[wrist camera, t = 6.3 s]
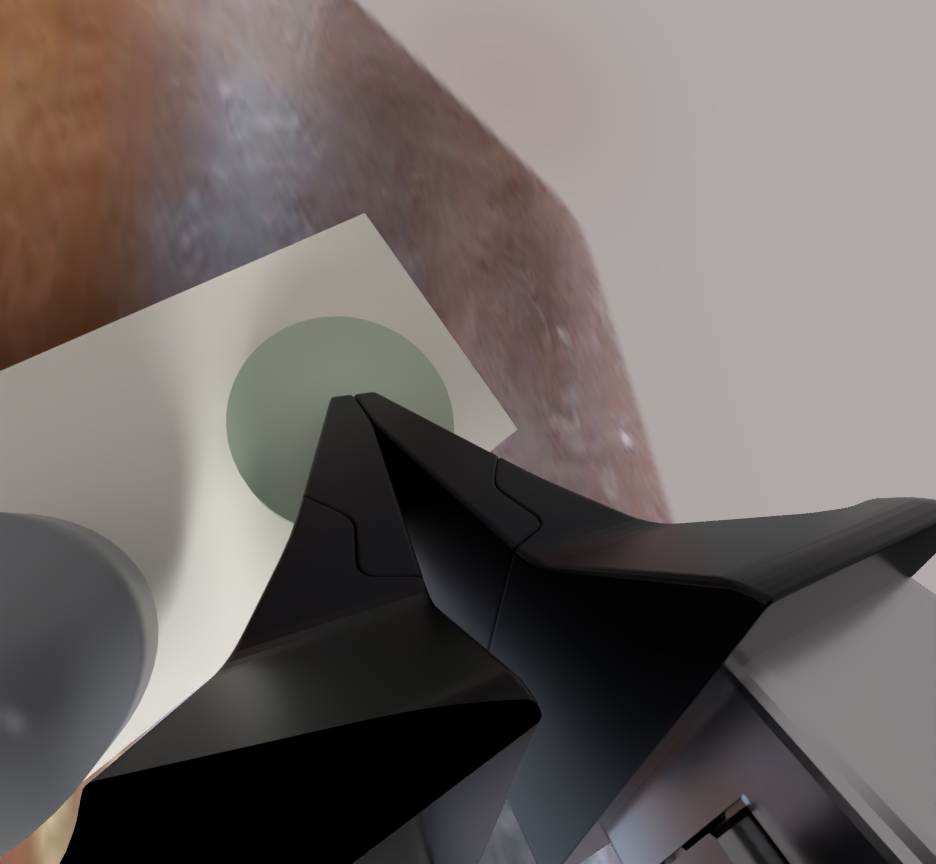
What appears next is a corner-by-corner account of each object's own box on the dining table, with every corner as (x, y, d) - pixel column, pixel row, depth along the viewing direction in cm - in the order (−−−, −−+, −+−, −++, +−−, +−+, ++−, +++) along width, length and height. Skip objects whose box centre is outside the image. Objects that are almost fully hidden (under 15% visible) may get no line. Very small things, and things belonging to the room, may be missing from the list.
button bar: (430, 466, 20) (517, 429, 13) (-177, 933, 12) (-950, 1617, 4) (332, 331, 19) (364, 212, 12) (-373, 717, 11) (-1622, 1074, 4)
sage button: (466, 456, 12) (491, 446, 10) (316, 576, 10) (322, 583, 8) (362, 311, 11) (373, 282, 10) (186, 407, 9) (171, 386, 8)
